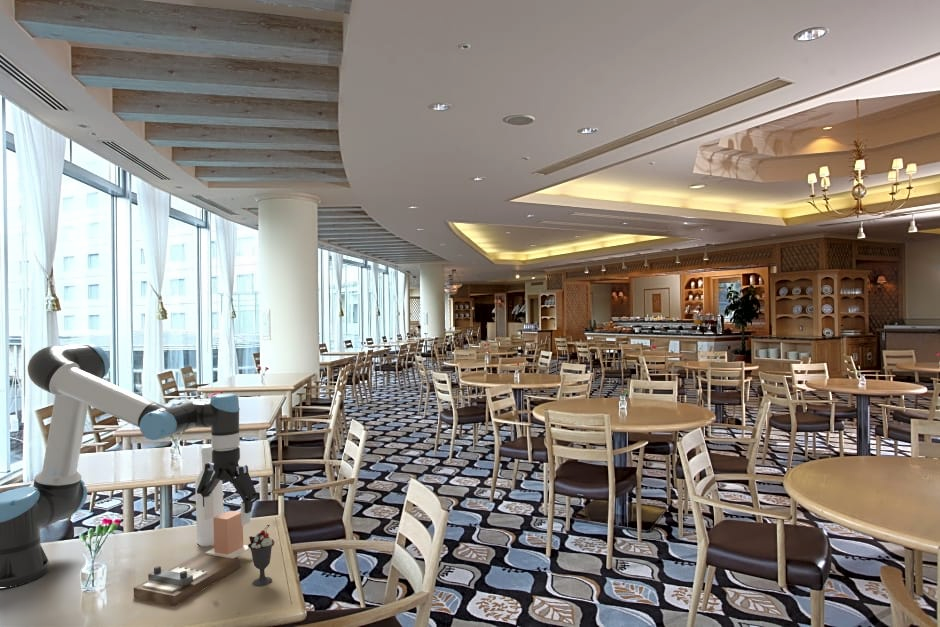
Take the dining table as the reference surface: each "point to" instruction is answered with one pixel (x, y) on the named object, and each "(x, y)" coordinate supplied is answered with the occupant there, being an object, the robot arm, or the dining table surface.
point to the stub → (228, 535)
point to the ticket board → (195, 586)
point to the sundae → (261, 555)
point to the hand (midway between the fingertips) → (227, 521)
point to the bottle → (203, 526)
